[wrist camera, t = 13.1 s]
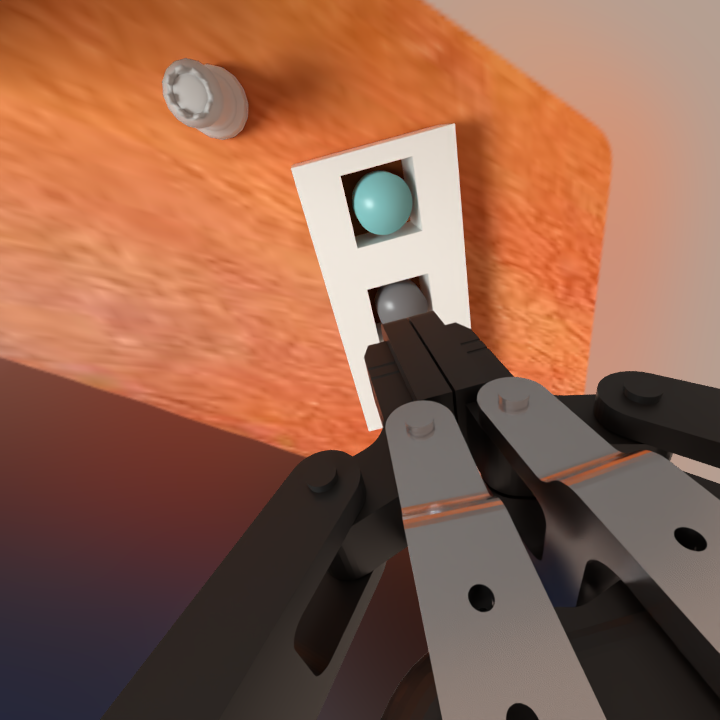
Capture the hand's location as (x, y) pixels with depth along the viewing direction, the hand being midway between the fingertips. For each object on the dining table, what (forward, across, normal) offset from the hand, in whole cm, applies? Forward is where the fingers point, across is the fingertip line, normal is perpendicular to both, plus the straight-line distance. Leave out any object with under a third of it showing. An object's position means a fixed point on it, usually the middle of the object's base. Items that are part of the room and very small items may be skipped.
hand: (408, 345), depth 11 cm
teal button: (+23, -4, 0) cm, 23 cm away
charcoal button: (+23, -4, +9) cm, 25 cm away
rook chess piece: (+25, +6, -8) cm, 27 cm away
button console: (+24, -4, +9) cm, 27 cm away
